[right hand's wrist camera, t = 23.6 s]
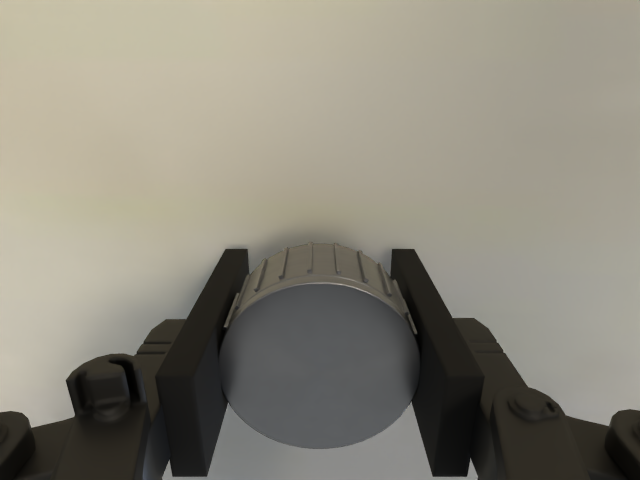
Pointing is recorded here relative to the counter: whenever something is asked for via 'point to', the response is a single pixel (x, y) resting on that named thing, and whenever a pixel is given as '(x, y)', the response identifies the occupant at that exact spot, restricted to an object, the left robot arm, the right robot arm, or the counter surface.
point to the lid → (319, 348)
